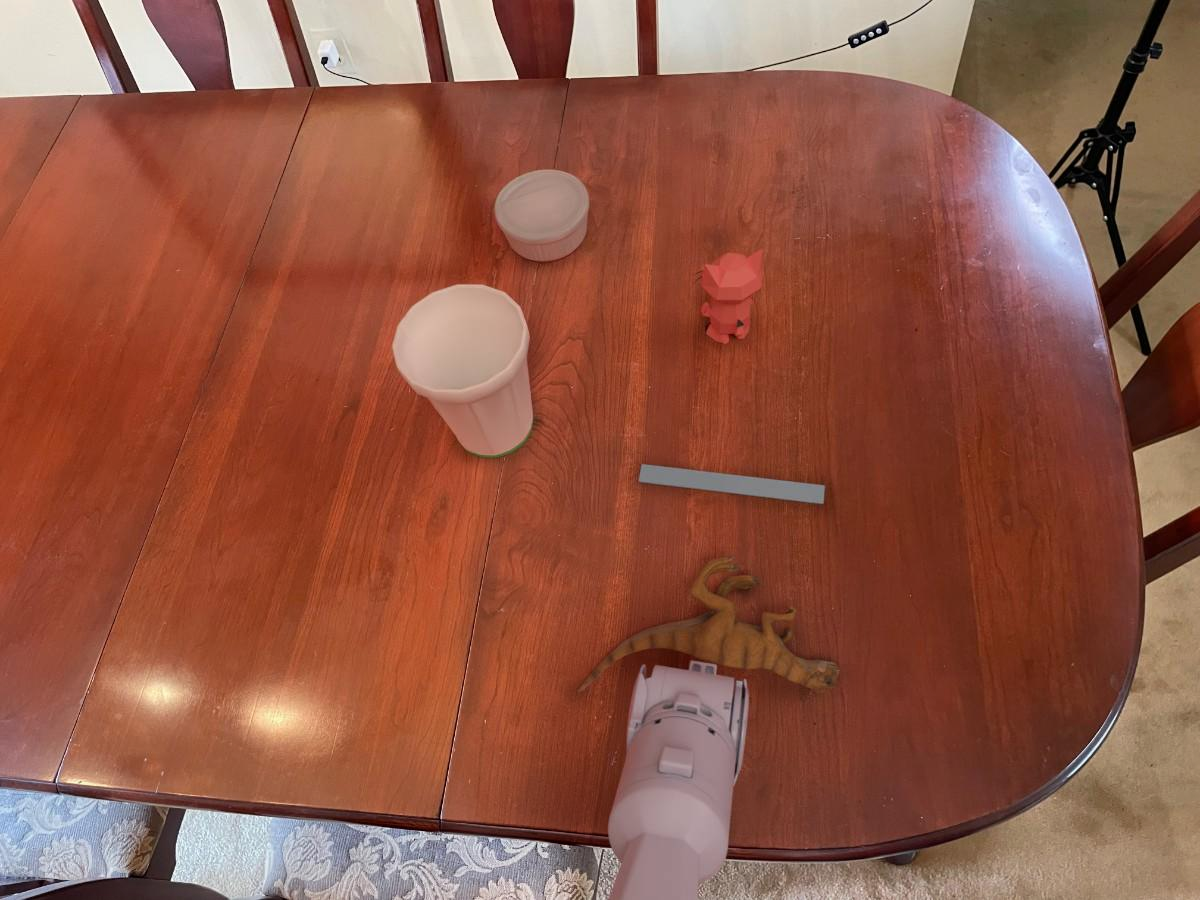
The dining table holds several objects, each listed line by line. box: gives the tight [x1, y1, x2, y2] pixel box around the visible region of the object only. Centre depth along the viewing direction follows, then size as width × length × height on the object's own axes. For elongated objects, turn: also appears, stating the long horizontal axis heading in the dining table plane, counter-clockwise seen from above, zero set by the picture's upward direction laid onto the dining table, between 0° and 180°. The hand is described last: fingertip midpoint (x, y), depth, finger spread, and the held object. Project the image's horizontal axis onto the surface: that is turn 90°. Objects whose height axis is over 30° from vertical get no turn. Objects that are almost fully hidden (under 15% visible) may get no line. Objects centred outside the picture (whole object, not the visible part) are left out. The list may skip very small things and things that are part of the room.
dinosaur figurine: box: [577, 556, 840, 694], centre depth 73 cm, size 7×22×12 cm
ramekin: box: [493, 169, 590, 262], centre depth 100 cm, size 11×11×5 cm
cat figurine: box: [692, 247, 764, 345], centre depth 87 cm, size 7×7×12 cm
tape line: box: [637, 463, 826, 505], centre depth 83 cm, size 2×18×1 cm, turn 79°
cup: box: [391, 283, 535, 459], centre depth 83 cm, size 12×12×15 cm
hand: (691, 781), depth 68 cm, fingers closed
